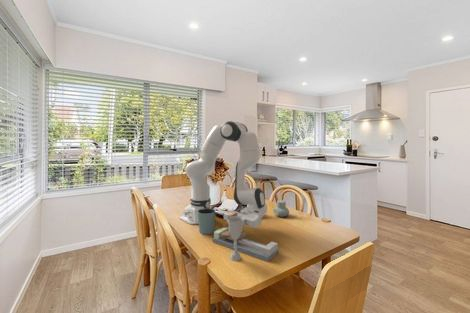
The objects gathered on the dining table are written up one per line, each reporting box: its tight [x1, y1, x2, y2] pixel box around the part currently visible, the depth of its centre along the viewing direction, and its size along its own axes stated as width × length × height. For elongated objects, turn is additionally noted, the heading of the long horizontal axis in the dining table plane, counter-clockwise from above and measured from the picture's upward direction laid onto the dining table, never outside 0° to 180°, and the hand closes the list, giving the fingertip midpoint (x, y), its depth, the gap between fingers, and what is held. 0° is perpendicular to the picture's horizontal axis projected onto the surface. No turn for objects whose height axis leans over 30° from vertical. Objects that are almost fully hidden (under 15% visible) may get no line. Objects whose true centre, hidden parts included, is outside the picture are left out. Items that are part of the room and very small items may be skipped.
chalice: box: [227, 216, 244, 262], centre depth 104 cm, size 7×7×18 cm
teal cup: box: [197, 208, 216, 235], centre depth 134 cm, size 10×10×12 cm
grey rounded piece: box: [272, 199, 290, 218], centre depth 161 cm, size 11×8×10 cm
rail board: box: [212, 226, 279, 263], centre depth 115 cm, size 32×10×5 cm, turn 53°
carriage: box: [221, 213, 247, 241], centre depth 118 cm, size 10×8×12 cm
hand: (232, 222), depth 117 cm, fingers closed on carriage, 4 cm apart
